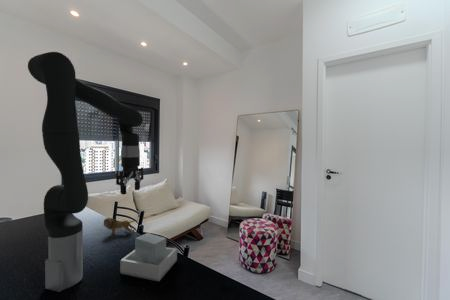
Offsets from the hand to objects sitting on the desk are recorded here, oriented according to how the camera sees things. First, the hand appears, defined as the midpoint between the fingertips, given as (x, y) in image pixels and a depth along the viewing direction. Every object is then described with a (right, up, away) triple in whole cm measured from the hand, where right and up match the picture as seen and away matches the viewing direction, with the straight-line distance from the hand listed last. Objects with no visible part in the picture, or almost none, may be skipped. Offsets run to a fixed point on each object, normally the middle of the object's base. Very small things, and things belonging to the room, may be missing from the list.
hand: (130, 191), depth 91 cm
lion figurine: (-14, -26, +16) cm, 33 cm away
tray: (+13, -27, -12) cm, 32 cm away
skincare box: (+13, -26, -12) cm, 32 cm away
